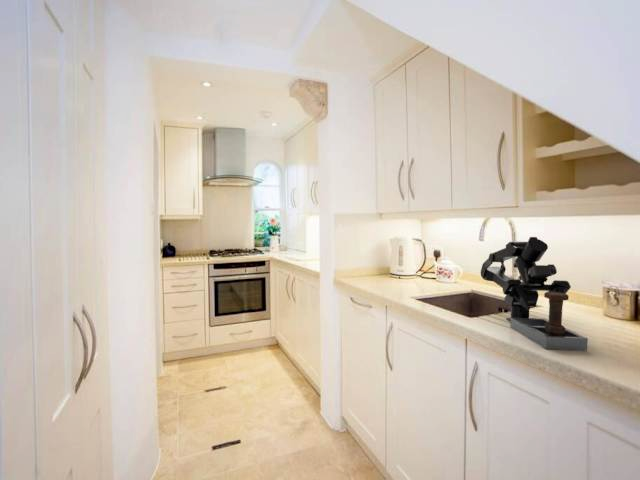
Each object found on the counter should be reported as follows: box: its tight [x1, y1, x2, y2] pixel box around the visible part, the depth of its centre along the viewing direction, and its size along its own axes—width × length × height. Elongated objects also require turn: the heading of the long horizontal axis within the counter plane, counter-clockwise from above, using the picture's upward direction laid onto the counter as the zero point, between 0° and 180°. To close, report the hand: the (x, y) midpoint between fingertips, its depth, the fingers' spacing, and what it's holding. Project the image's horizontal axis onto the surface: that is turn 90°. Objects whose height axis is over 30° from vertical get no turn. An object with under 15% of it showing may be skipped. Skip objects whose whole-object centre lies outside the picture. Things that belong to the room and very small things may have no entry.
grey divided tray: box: [510, 317, 589, 352], centre depth 101 cm, size 20×11×4 cm, turn 175°
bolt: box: [543, 291, 569, 336], centre depth 97 cm, size 6×5×15 cm
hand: (544, 310), depth 102 cm, fingers open, 9 cm apart
